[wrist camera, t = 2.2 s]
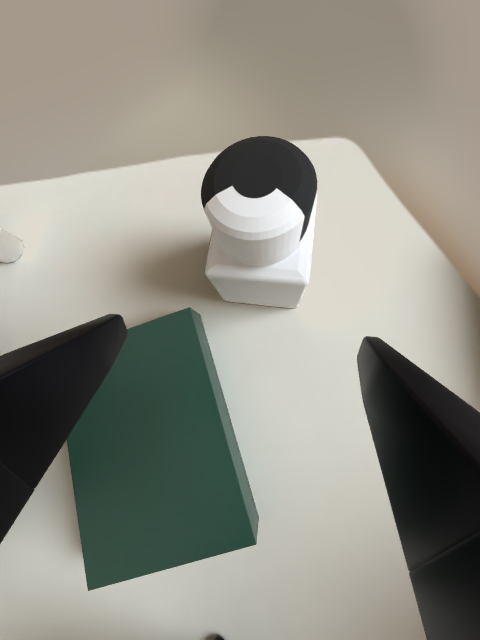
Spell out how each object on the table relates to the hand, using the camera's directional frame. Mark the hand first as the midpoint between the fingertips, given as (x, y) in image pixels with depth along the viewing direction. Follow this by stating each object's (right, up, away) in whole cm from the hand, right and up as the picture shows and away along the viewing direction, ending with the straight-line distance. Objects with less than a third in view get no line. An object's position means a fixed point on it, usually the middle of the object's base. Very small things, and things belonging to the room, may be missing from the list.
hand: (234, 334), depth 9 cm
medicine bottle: (+3, +5, +15) cm, 16 cm away
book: (-7, -9, +13) cm, 18 cm away
